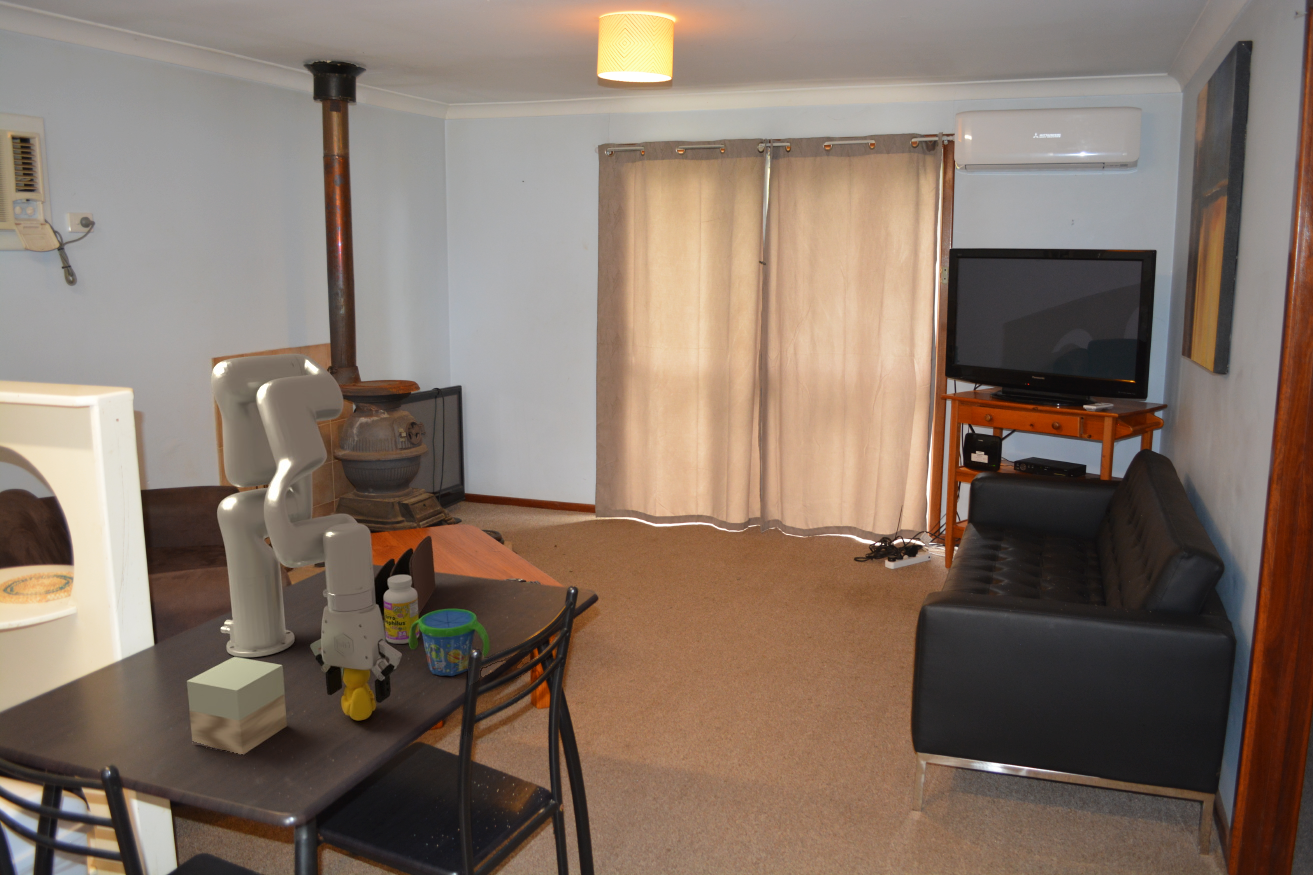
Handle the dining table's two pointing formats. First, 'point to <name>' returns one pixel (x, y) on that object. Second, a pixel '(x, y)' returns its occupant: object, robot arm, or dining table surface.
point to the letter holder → (414, 566)
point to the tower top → (235, 688)
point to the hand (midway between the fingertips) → (358, 695)
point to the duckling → (357, 694)
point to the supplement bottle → (400, 609)
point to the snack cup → (448, 639)
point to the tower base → (239, 727)
